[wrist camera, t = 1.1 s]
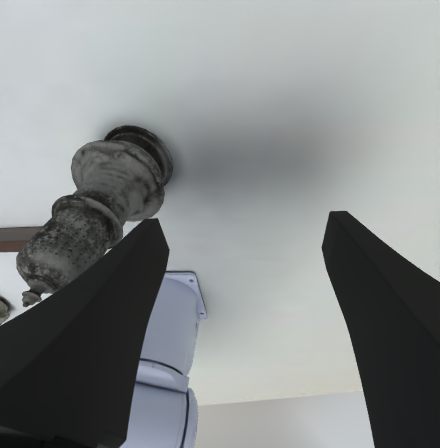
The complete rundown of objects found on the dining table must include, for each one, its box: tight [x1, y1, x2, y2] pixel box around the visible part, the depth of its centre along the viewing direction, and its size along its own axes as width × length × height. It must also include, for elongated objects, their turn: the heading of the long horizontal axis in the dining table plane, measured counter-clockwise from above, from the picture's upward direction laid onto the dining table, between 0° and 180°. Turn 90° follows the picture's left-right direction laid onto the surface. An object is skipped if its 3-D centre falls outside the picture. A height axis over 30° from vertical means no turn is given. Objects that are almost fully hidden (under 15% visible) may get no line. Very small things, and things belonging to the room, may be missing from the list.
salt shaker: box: [16, 126, 173, 307], centre depth 13 cm, size 6×6×12 cm
